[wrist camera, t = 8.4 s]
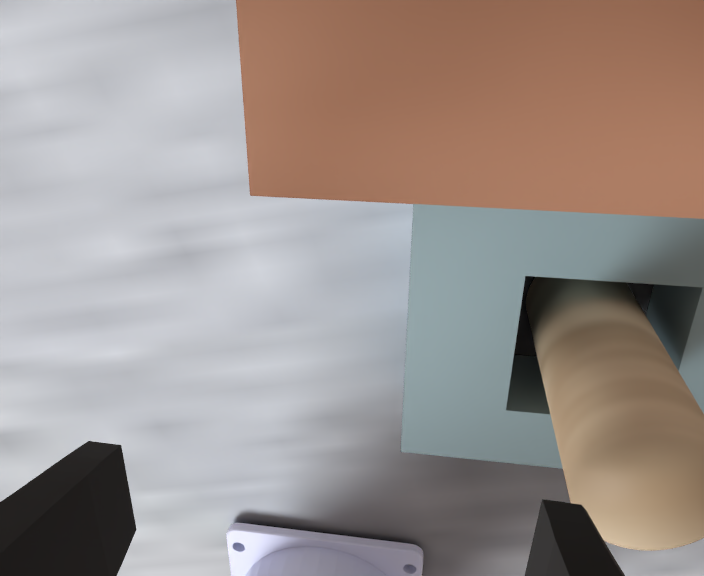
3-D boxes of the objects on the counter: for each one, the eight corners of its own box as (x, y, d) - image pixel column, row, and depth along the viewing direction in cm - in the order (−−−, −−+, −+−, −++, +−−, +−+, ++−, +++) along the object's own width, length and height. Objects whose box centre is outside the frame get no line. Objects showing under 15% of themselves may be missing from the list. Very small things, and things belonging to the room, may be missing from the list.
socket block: (715, 421, 20) (755, 488, 17) (407, 393, 21) (400, 451, 18) (867, -30, 14) (964, -34, 11) (430, -31, 15) (425, -34, 13)
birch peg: (621, 344, 19) (721, 556, 12) (523, 342, 20) (563, 544, 12) (635, 256, 18) (757, 435, 11) (528, 256, 18) (577, 427, 11)
